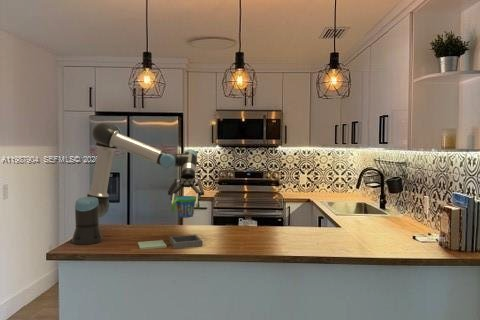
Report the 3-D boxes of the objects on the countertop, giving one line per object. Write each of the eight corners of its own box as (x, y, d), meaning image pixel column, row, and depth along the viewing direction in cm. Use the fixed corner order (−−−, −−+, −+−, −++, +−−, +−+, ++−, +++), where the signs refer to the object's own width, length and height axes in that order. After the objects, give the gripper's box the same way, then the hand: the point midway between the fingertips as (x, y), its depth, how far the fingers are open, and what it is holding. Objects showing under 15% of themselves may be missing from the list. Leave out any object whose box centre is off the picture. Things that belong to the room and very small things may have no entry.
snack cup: (195, 213, 222) (194, 194, 221) (204, 216, 213) (203, 197, 212) (168, 217, 214) (167, 197, 213) (176, 220, 205) (175, 200, 204)
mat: (140, 249, 203) (140, 247, 203) (137, 243, 215) (137, 242, 215) (166, 247, 207) (166, 245, 207) (162, 241, 220) (162, 240, 220)
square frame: (174, 248, 205) (174, 242, 205) (169, 242, 218) (169, 236, 218) (202, 246, 210) (202, 240, 210) (195, 240, 223) (195, 234, 223)
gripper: (210, 177, 228) (208, 209, 213) (167, 177, 228) (162, 209, 214) (209, 168, 223) (207, 200, 208) (165, 168, 223) (160, 200, 208)
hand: (184, 205), depth 211 cm, fingers closed on snack cup, 12 cm apart
